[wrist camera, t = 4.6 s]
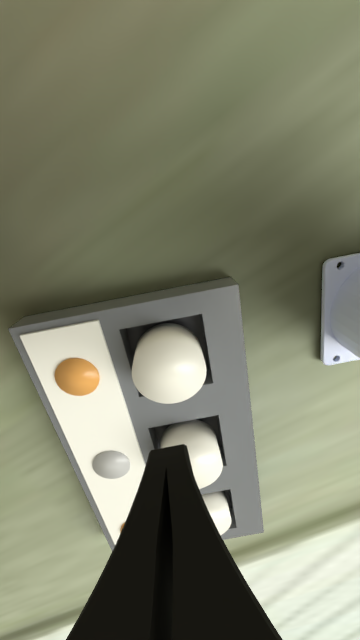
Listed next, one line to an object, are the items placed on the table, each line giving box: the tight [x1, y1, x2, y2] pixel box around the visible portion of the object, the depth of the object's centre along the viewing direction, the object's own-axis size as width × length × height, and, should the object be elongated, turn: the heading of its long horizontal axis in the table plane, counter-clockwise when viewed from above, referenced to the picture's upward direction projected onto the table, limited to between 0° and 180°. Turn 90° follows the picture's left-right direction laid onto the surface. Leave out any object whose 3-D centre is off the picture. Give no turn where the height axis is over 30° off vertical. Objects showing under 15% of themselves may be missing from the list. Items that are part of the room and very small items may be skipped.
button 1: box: [132, 323, 207, 404], centre depth 17 cm, size 4×4×2 cm
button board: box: [8, 277, 264, 551], centre depth 21 cm, size 14×24×2 cm, turn 10°
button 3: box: [202, 490, 231, 535], centre depth 24 cm, size 4×4×2 cm
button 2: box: [160, 420, 223, 489], centre depth 20 cm, size 4×4×2 cm
